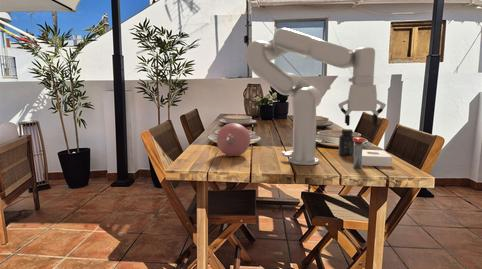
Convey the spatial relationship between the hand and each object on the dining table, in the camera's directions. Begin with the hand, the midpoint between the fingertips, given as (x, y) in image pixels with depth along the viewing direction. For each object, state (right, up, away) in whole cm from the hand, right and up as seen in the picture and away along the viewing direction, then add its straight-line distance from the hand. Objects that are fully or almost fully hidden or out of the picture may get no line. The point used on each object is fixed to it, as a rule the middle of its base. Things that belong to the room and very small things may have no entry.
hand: (360, 125), depth 123 cm
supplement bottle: (+2, -13, +25) cm, 28 cm away
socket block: (+9, -15, +11) cm, 21 cm away
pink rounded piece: (-51, -14, +21) cm, 57 cm away
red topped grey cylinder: (0, -17, +3) cm, 17 cm away
